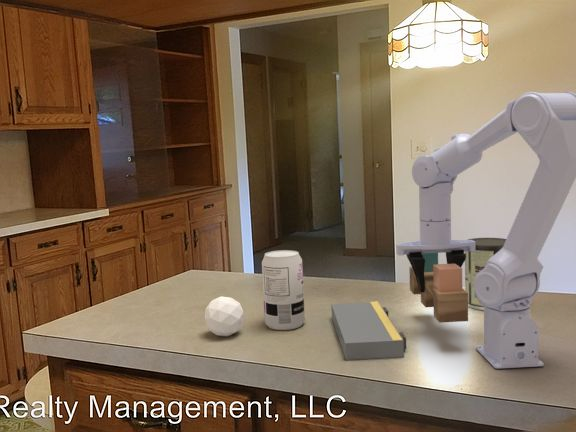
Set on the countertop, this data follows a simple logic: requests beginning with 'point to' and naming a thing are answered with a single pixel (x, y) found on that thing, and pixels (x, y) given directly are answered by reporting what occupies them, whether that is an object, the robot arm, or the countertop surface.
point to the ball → (224, 316)
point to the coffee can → (479, 265)
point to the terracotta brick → (447, 277)
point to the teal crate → (430, 261)
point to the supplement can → (283, 290)
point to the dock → (367, 331)
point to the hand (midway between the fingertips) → (436, 290)
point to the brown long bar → (441, 300)
